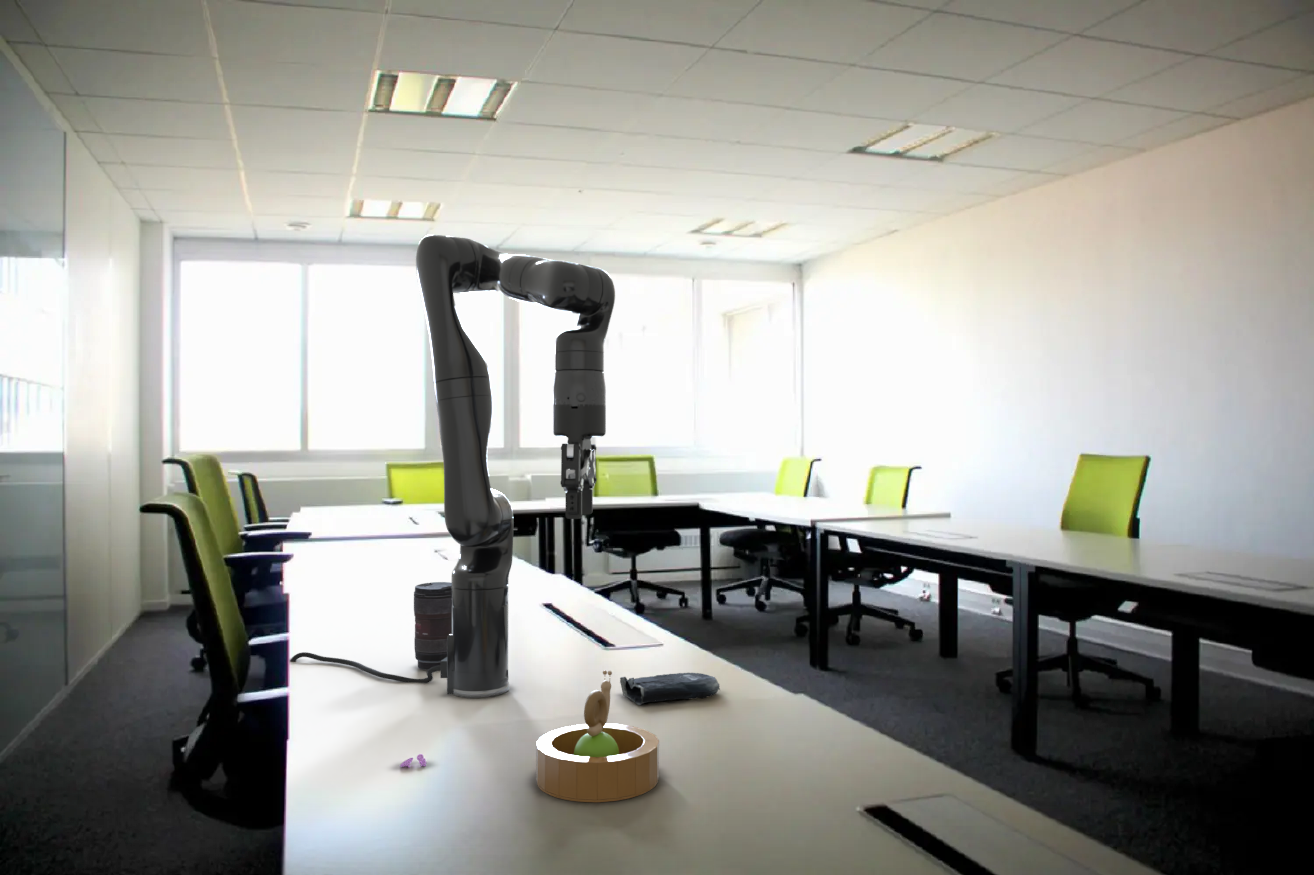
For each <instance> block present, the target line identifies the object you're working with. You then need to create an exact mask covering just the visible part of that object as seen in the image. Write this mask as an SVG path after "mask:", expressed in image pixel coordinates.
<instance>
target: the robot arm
mask: <svg viewBox="0 0 1314 875" xmlns="http://www.w3.org/2000/svg"><path fill="white" fill-rule="evenodd" d="M416 248H417V249H416V254H415V270H416V271H415V273H416V279H417V285H418V289H419V295H420V299H421V303H422V308H423V313H424V318H425V323H426V327H427V328H426V329H427V334H428V335H427V336H428V342H429V349H430V357H431V358H430V359H431V368H432V369H431V370H432V381H433V382H432V383H433V390H434V400H435V408H436V413H437V422H438V429H439V440H440V447H441V453H442V461H443V491H444V492H443V507H444V508H443V512H444V513H443V516H444V524H445V527H446V529H447V532H448V534H449V536H450V537H451V539H453V540H454V541H455V542H456V543H457V544H459V556H458V559H457V561H456V564H455V566H454V568H453V569H452V571H451V583H452V604H451V605H452V618H451V634H449V635H448V637H447V657H446V658H444V659H443V660H441V661H440V665H439V666H434V667H431V668H430V669H429V670H426V677H424V678H412V677H407V676H402V675H397V674H392V673H386V672H382V671H379V670H376V669H374V668H372V667H368V666H366V665H364V664H362V663H361V662H357V661H354V660H349V659H344V658H338V657H330V656H323V655H319V654H315V653H312V652H307V651H306V652H305V651H303V652H298V653H296V654H294V655H293V656H292V657H291V658H290V660H289V662H296V661H297V660H298V659H301V658H309V659H313V660H316V661H319V662H325V663H332V664H333V663H334V664H341V665H346V666H350V667H353V668H357V669H359V670H360V671H363V672H365V673H367V674H371V675H373V676H375V677H377V678H381V679H385V680H392V681H396V682H402V683H412V684H429V683H430V682H432V681H433V679H434V675H433V673H436V672H440V674H439V677H440V679H446V695H452V696H457V697H461V698H470V699H471V698H472V699H473V698H475V699H477V698H478V699H479V698H489V697H495V696H499V695H502V694H505V693H507V692H508V691H509V689H510V682H509V577H510V572H511V569H512V565H513V554H514V553H513V552H514V551H513V550H514V512H513V508H512V505H511V503H510V501H509V499H508V498H507V497H506V495H505V494H503V493H502V492H500V491H498V490H496V489H493V488H492V486H491V480H490V474H489V468H488V446H489V441H490V435H491V431H492V430H491V428H492V423H493V417H494V416H493V415H494V399H493V398H494V397H493V390H492V380H491V373H490V369H489V366H488V364H487V362H486V359H485V357H484V356H483V354H482V353H481V351H480V349H479V348H478V346H477V345H476V343H475V342H474V340H473V339H472V337H471V336H470V335H469V333H468V332H467V330H466V329H465V327H464V325H463V323H462V321H461V318H460V316H459V314H458V310H457V306H456V302H455V296H454V294H465V295H466V294H471V293H481V292H482V293H483V292H498V293H501V294H503V295H504V296H505V297H507V298H509V299H512V300H515V301H517V302H522V303H525V304H526V303H527V304H531V305H534V306H535V305H536V306H542V307H545V308H547V309H550V310H553V311H558V312H563V313H568V314H569V313H570V314H577V319H576V323H575V326H574V328H571V329H565V330H563V331H559V333H558V334H557V335H556V338H555V343H554V344H555V345H554V371H555V372H554V380H553V386H552V389H553V390H552V393H553V394H552V395H553V396H552V413H553V414H552V415H553V416H552V433H553V435H554V436H556V437H559V438H560V437H563V438H567V442H566V443H561V446H560V450H561V456H560V458H561V459H560V487H561V488H562V489H563V492H565V518H566V519H567V520H580V519H581V518H582V517H583V515H589V516H590V515H591V514H592V513H593V512H594V511H593V510H594V508H593V507H594V506H593V505H594V504H593V503H594V501H593V500H594V499H593V498H594V496H593V494H594V493H593V492H594V491H593V489H594V488H595V486H596V484H597V480H598V479H597V446H596V444H595V443H592V440H591V439H592V438H598V437H599V438H600V437H604V436H606V433H607V432H606V431H607V423H606V419H607V418H606V417H607V401H606V400H607V397H606V396H607V394H606V392H607V390H606V381H605V380H606V379H605V341H606V337H607V335H608V331H609V327H610V323H611V320H612V316H613V312H614V307H615V302H616V289H615V284H614V281H613V279H612V277H611V275H610V274H609V272H608V271H606V270H604V269H602V268H600V267H595V266H591V265H585V264H580V263H576V262H570V261H565V260H558V259H557V260H555V259H554V260H553V259H548V258H545V257H538V256H532V255H526V254H508V253H503V252H501V251H497V250H495V249H493V248H491V247H489V246H487V245H485V244H482V243H480V242H479V241H476V240H473V239H471V238H466V237H460V236H452V235H451V236H450V235H442V234H427V235H425V236H424V237H423V238H421V240H420V241H419V243H418V246H417V247H416Z"/></svg>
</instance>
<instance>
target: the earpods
mask: <svg viewBox="0 0 1314 875" xmlns="http://www.w3.org/2000/svg"><path fill="white" fill-rule="evenodd" d="M413 760H414V757H409V758H407V759H405V760H404V761H403V762H401V764H400V765H399V767H400V768H402V767H403V768H404V767H408V769H410V768H411V766H410V765H411V763H412V762H413ZM416 760H417V761H418V764H420V766H421V767H426V766H427V761H426V758H425V757H424V754H422V753H419V754H418V755H417V756H416Z"/></svg>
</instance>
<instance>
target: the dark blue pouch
mask: <svg viewBox="0 0 1314 875" xmlns="http://www.w3.org/2000/svg"><path fill="white" fill-rule="evenodd" d="M619 684H620V688H621V693H622V696H624V697H626V698H628V699H629V700H631V701H632V702H633V703H634V704H636V705H638V706H642V705H643V704H645V703H653V702H665V701H672V700H695V699H706V698H710V697H712V696H714V695H716V694H717V693H718V691H721V688H720V683H719V682H718V680H717V679H716V676H712V675H709V674H705V673H699V672H678V673H668V674H657V675H654V676H653V675H652V676H641V677H636V678H634V677H630V678H628V679H627V677H626V676H621V677H620V678H619Z"/></svg>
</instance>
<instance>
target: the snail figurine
mask: <svg viewBox="0 0 1314 875" xmlns="http://www.w3.org/2000/svg"><path fill="white" fill-rule="evenodd" d="M612 674H613V672H612V670H603V671H602V675H604V676H606V675H608V676H611V675H612ZM611 689H612V683H611V679H609V680H607V679H604V680H602V682H601V684H600V690H597V689H595V690H593V691H591V692H590V693H589V694H588V696H587V698H586V700H585V703H584V708H583V710H584V711H583V718H584V722H585V724H587V726H588V727H589V728H588V729H587V734H585V735H584V736H582V737H581V738H580V740H579V741H578V742H577V744H576V746H575V750H574V756H581V757H606V756H616V755H619V749H618V746H617V743H616V742H615V740H614V739H613V738H612V737H611V736H610V735H609V734H607V733H605V732H602V730H603V728H604V726H605V724H607V722H608V719H609V713H610V706H611Z"/></svg>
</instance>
